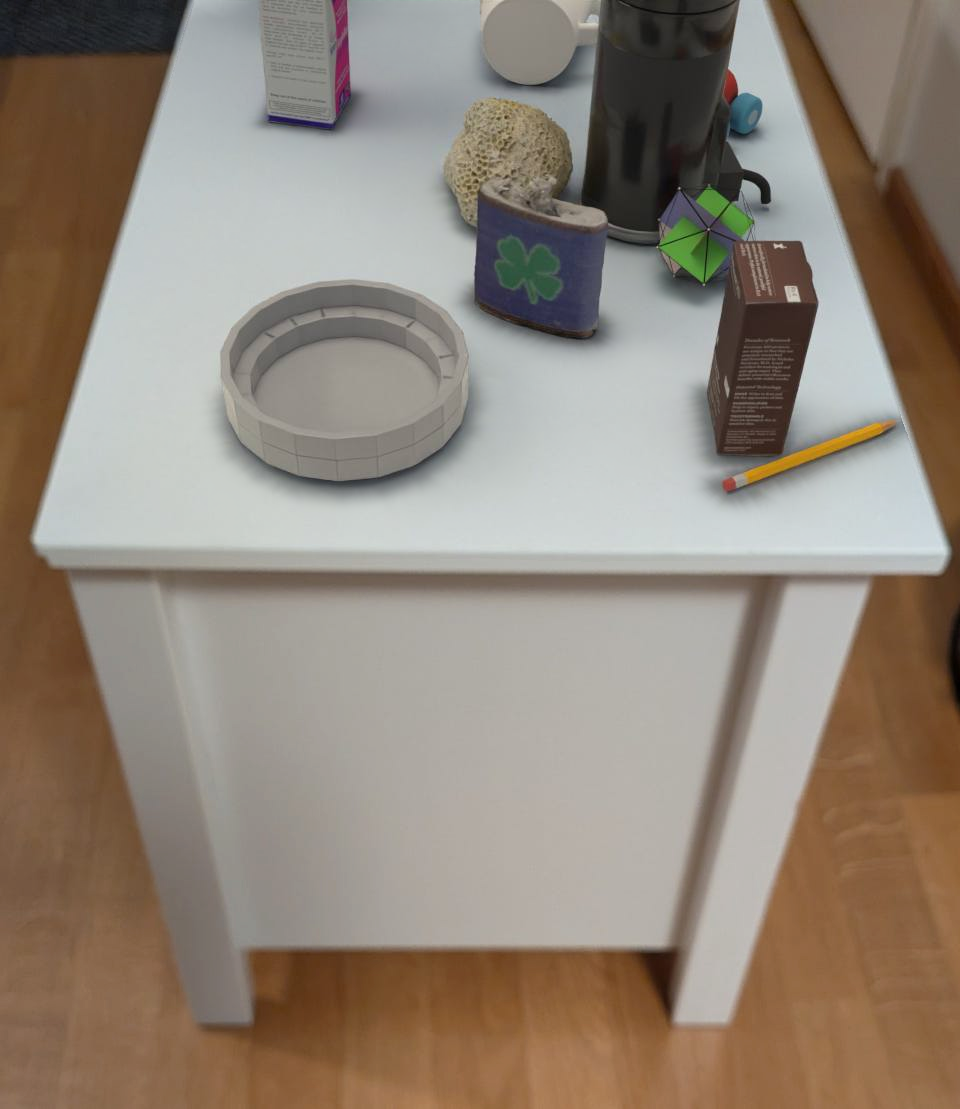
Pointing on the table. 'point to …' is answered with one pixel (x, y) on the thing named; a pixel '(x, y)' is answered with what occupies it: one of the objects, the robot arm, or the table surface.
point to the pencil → (806, 455)
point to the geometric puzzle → (701, 233)
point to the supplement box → (305, 60)
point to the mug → (535, 36)
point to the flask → (539, 257)
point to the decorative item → (505, 151)
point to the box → (761, 346)
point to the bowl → (345, 379)
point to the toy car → (741, 107)
